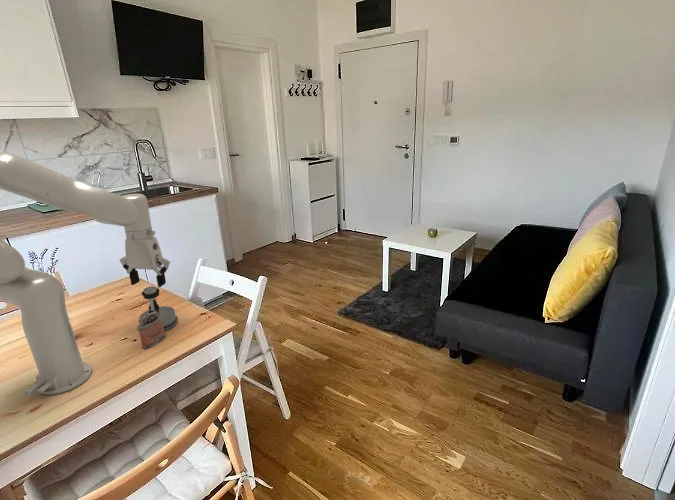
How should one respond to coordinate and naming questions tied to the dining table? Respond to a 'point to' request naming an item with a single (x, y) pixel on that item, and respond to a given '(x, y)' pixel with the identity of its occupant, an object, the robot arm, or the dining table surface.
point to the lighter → (151, 330)
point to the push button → (152, 298)
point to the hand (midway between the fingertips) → (148, 284)
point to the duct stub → (166, 317)
